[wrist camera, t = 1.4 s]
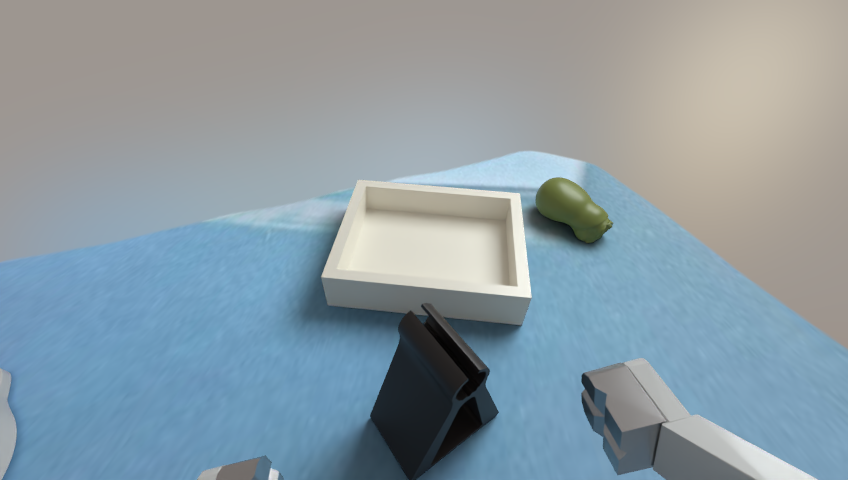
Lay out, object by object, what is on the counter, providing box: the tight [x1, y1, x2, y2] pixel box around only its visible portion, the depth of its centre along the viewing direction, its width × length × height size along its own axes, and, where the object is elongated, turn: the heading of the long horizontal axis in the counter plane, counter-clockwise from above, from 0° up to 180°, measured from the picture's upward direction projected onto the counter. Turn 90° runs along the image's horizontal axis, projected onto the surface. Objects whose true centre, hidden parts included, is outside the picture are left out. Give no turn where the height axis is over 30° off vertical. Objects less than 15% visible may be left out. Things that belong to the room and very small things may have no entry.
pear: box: [536, 178, 613, 243], centre depth 50 cm, size 6×5×10 cm
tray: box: [321, 180, 532, 325], centre depth 45 cm, size 20×16×4 cm
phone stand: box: [370, 303, 499, 480], centre depth 29 cm, size 9×6×12 cm, turn 125°
